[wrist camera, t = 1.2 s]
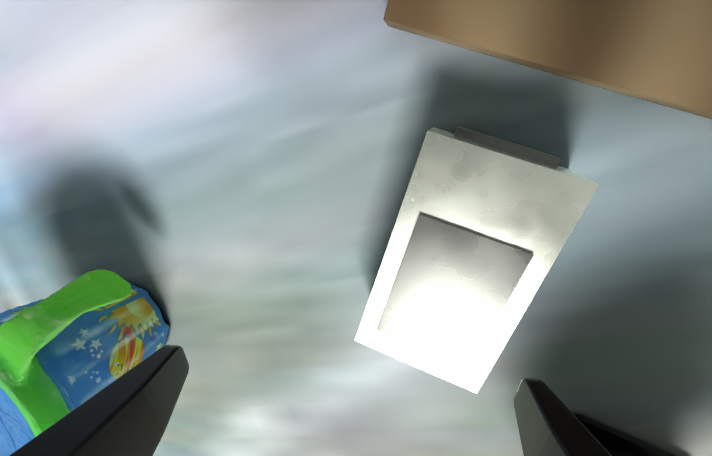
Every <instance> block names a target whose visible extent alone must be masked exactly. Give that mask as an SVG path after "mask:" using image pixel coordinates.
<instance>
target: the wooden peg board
mask: <svg viewBox="0 0 712 456" xmlns="http://www.w3.org/2000/svg"><path fill="white" fill-rule="evenodd" d="M384 21H385V22H386V23H387V25H388V26H390V27H394V28H397V29H401V30H404V31H407V32H411V33H414V34H418V35H421V36H425V37H428V38H432V39H435V40H439V41H442V42H446V43H449V44H453V45H456V46H460V47H463V48H466V49H470V50H473V51H477V52H480V53H484V54H487V55H491V56H494V57H498V58H501V59H505V60H508V61H512V62H515V63H519V64H522V65H525V66H529V67H532V68H536V69H539V70H543V71H546V72H550V73H553V74H557V75H560V76H564V77H567V78H571V79H574V80H578V81H581V82H584V83H588V84H591V85H595V86H598V87H602V88H605V89H609V90H612V91H616V92H619V93H623V94H626V95H630V96H633V97H637V98H640V99H643V100H647V101H650V102H654V103H657V104H661V105H664V106H668V107H671V108H675V109H678V110H682V111H685V112H689V113H692V114H696V115H699V116H702V117H706V118H709V119H712V0H389V2H388V5H387V9H386V12H385V16H384Z"/></svg>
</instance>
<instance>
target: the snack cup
mask: <svg viewBox="0 0 712 456" xmlns="http://www.w3.org/2000/svg"><path fill="white" fill-rule="evenodd" d="M168 331H169V326H168V325H167V324H166V323H165V322H164V320H163V318H162V314H161V312H160V309H159V307H158V306H157V305H156V304H155V302H154V301H153V300H152V299H151V297H150V296H149V293H148V292H147V291H146V290H144V289H142V288H138V287H136V286H135V285H133V284H131V283H128V282H127V281H126V280H124V279H123V278H121V277H120V276H119V275H118V274H116V273H114V272H112V271H107V270H104V269H98V270H93V271H89V272H86V273H84V274H83V275H81V276H80V277H78V278H76V279H75V280H74V281H72V282H71V283H69V284H67V285H66V286H65V287H63V288H62V289H60V290H59V291H57V292H55V293H54V294H52V295H51V296H49V297H47V298H46V299H42V300H38V301H35V302H32V303H30V304H27V305H23V306H18V307H16V308H13V309H10V310H7V311H5V312H3V313H0V456H9V455H11V454H12V453H13V452H15V451H16V450H18V449H19V448H21V447H22V446H23V445H25V444H26V443H28V442H29V441H30V440H32V439H33V438H35V437H36V436H37V435H39V434H40V433H42V432H43V431H44V430H46V429H47V428H49V427H50V426H51V425H53V424H54V423H56V422H57V421H58V420H60V419H61V418H63V417H64V416H66V415H67V414H68V413H70V412H71V411H73V410H74V409H75V408H77V407H78V406H80V405H81V404H82V403H84V402H85V401H87V400H88V399H89V398H91V397H92V396H94V395H95V394H96V393H98V392H99V391H101V390H102V389H104V388H105V387H106V386H108V385H109V384H111V383H112V382H113V381H115V380H116V379H118V378H119V377H120V376H122V375H123V374H125V373H126V372H127V371H129V370H130V369H132V368H133V367H134V366H136V365H137V364H139V363H140V362H141V361H143V360H144V359H146V358H147V357H149V356H150V355H151V354H153V353H154V352H156V351H157V350H158V349H160V348H161V347H163V346H165V344H166V338H167V335H168Z"/></svg>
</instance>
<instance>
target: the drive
mask: <svg viewBox="0 0 712 456" xmlns="http://www.w3.org/2000/svg"><path fill="white" fill-rule="evenodd" d="M561 160H562V158H559V157H557V156H555V155H552V154H549V153H546V152H543V151H539V150H536V149H533V148H529V147H526V146H523V145H520V144H516V143H513V142H510V141H506V140H503V139H500V138H496V137H493V136H490V135H487V134H483V133H480V132H477V131H473V130H470V129H467V128H463V127H460V126H457V128H456V130H455V133H451V132H448V131H444V130H441V129H438V128H434V127H433V128H431V129H429V130H428V131H427V133H426V136H425V139H424V142H423V145H422V148H421V151H420V153H419V156H418V159H417V162H416V165H415V168H414V171H413V174H412V176H411V179H410V182H409V185H408V188H407V191H406V194H405V197H404V200H403V202H402V205H401V208H400V211H399V214H398V217H397V220H396V223H395V225H394V228H393V231H392V234H391V237H390V240H389V243H388V246H387V248H386V251H385V254H384V257H383V260H382V263H381V266H380V269H379V272H378V274H377V277H376V280H375V283H374V286H373V289H372V292H371V295H370V297H369V300H368V303H367V306H366V309H365V312H364V315H363V318H362V320H361V323H360V326H359V329H358V332H357V335H356V338H355V341H358V342H360V343H362V344H364V345H367V346H369V347H371V348H374V349H376V350H378V351H380V352H383V353H385V354H387V355H390V356H392V357H394V358H396V359H399V360H401V361H403V362H406V363H408V364H410V365H413V366H415V367H417V368H419V369H422V370H424V371H426V372H429V373H431V374H433V375H435V376H438V377H440V378H442V379H445V380H447V381H449V382H451V383H454V384H456V385H458V386H461V387H463V388H465V389H468V390H470V391H472V392H474V393H477V392H478V390H479V389H480V387H481V385H482V384H483V382H484V380H485V378H486V377H487V375H488V373H489V372H490V370H491V368H492V367H493V365H494V363H495V361H496V360H497V358H498V356H499V355H500V353H501V351H502V350H503V348H504V346H505V344H506V343H507V341H508V339H509V338H510V336H511V334H512V333H513V331H514V329H515V327H516V326H517V324H518V322H519V321H520V319H521V317H522V316H523V314H524V312H525V310H526V309H527V307H528V305H529V304H530V302H531V300H532V299H533V297H534V295H535V293H536V292H537V290H538V288H539V287H540V285H541V283H542V282H543V280H544V278H545V276H546V275H547V273H548V271H549V270H550V268H551V266H552V265H553V263H554V261H555V259H556V258H557V256H558V254H559V253H560V251H561V249H562V248H563V246H564V244H565V242H566V241H567V239H568V237H569V236H570V234H571V232H572V231H573V229H574V227H575V225H576V224H577V222H578V220H579V219H580V217H581V215H582V214H583V212H584V210H585V208H586V207H587V205H588V203H589V202H590V200H591V198H592V197H593V195H594V193H595V191H596V190H597V188H598V186H599V185H600V184H598V183H596V182H594V181H592V180H590V179H588V178H586V177H584V176H582V175H580V174H578V173H576V172H574V171H572V170H570V169H568V168H565V167H561V166H558V165H559V163H560V162H561Z"/></svg>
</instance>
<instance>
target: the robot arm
mask: <svg viewBox="0 0 712 456" xmlns="http://www.w3.org/2000/svg"><path fill="white" fill-rule="evenodd" d="M188 371H189V364H188V361H187V359H186V356H185V353H184V351H183V348H182V347H181V346H177V345H165V346H163V347H161V348H160V349H158V350H157V351H156V352H154V353H153V354H151V355H150V356H149V357H147V358H146V359H144V360H143V361H141V362H140V363H139V364H137V365H136V366H134V367H133V368H132V369H130V370H129V371H127V372H126V373H125V374H123V375H122V376H120V377H119V378H118V379H116V380H115V381H113V382H112V383H111V384H109V385H108V386H106V387H105V388H104V389H102V390H101V391H99V392H98V393H96V394H95V395H94V396H92V397H91V398H89V399H88V400H87V401H85V402H84V403H82V404H81V405H80V406H78V407H77V408H75V409H74V410H73V411H71V412H70V413H68V414H67V415H66V416H64V417H63V418H61V419H60V420H58V421H57V422H56V423H54V424H53V425H51V426H50V427H49V428H47V429H46V430H44V431H43V432H42V433H40V434H39V435H37V436H36V437H35V438H33V439H32V440H30V441H29V442H28V443H26V444H25V445H23V446H22V447H21V448H19V449H18V450H16V451H15V452H13V453H12V454H11V455H9V456H153V454H154V452H155V450H156V448H157V446H158V444H159V442H160V440H161V438H162V436H163V434H164V432H165V429H166V427H167V425H168V422H169V420H170V417H171V415H172V412H173V410H174V407H175V405H176V402H177V400H178V397H179V395H180V392H181V390H182V387H183V385H184V382H185V380H186V377H187V374H188ZM514 406H515V412H516V417H517V422H518V428H519V433H520V438H521V444H522V449H523V454H524V456H673V455H671V454H669V453H666V452H664V451H662V450H660V449H657V448H655V447H653V446H651V445H648V444H646V443H644V442H642V441H639V440H637V439H635V438H632V437H630V436H628V435H626V434H623V433H621V432H619V431H617V430H614V429H612V428H610V427H608V426H605V425H603V424H601V423H598V422H596V421H594V420H592V419H589V418H587V417H585V416H583V415H579V414H573V413H572V412H571V411H570V410H569V409H568V408H567V407H566V406H565V404H564V403H563V402H562V401H561V400H560V399H559V398H558V397H557V396H556V395H555V394H554V393H553V391H552V390H551V389H550V388H549V387H548V386H547V385H546V384H545V383H544V382H543V381H542V380H540V379H535V378H524V379H522V381H521V383H520V385H519V387H518V390H517V392H516V394H515V397H514Z"/></svg>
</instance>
